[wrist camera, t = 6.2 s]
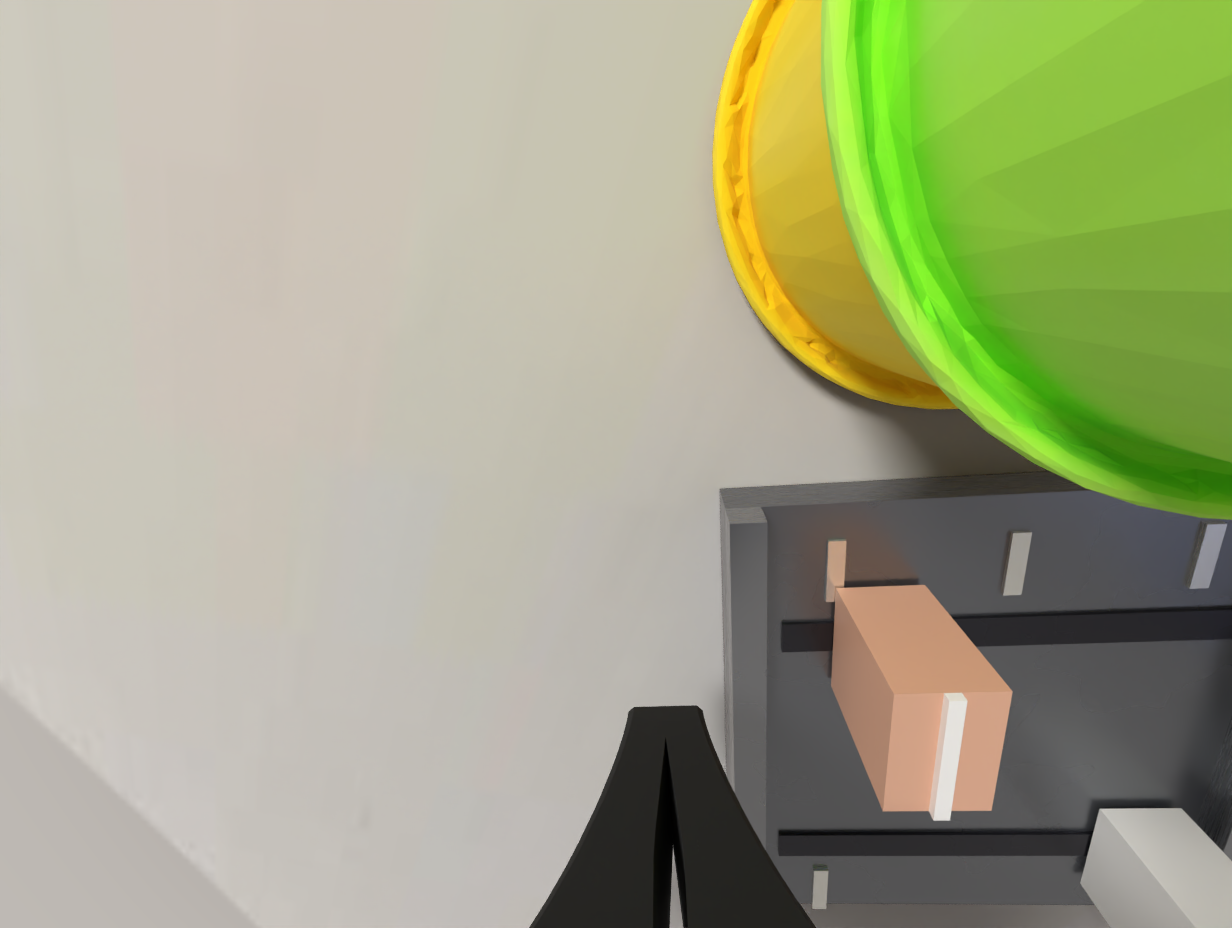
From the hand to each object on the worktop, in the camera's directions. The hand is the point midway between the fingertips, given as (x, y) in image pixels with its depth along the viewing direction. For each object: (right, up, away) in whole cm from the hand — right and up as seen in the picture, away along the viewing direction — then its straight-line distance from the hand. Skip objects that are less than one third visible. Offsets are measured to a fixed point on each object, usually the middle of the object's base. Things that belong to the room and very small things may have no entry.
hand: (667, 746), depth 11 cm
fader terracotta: (+5, +1, +3) cm, 6 cm away
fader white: (+13, -5, +4) cm, 14 cm away
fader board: (+9, -1, +5) cm, 10 cm away
